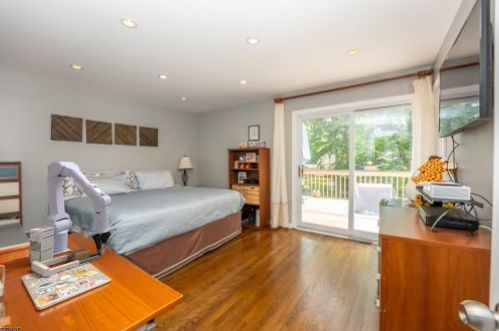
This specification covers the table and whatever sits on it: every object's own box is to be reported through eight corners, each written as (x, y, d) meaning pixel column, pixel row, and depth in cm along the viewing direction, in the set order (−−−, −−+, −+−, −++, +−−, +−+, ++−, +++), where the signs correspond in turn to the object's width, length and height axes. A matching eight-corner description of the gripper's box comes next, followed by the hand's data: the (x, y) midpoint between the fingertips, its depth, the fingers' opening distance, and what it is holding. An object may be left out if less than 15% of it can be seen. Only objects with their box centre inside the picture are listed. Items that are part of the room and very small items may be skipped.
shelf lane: (31, 269, 90) (31, 262, 90) (65, 259, 100) (65, 252, 100) (44, 277, 84) (44, 269, 84) (79, 265, 94) (79, 258, 94)
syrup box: (53, 258, 101) (54, 226, 101) (40, 264, 95) (41, 230, 95) (42, 257, 101) (43, 225, 101) (28, 263, 95) (29, 229, 95)
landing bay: (65, 259, 100) (65, 256, 100) (85, 253, 107) (85, 250, 107) (79, 265, 94) (79, 262, 94) (99, 259, 101) (99, 255, 101)
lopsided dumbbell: (69, 260, 99) (69, 249, 99) (99, 251, 110) (99, 241, 110) (76, 263, 96) (76, 252, 96) (106, 254, 107) (106, 243, 107)
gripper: (89, 225, 99) (88, 255, 99) (121, 218, 112) (120, 245, 112) (81, 222, 102) (80, 252, 102) (113, 216, 115) (112, 242, 115)
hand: (100, 248), depth 107 cm, fingers closed on lopsided dumbbell
